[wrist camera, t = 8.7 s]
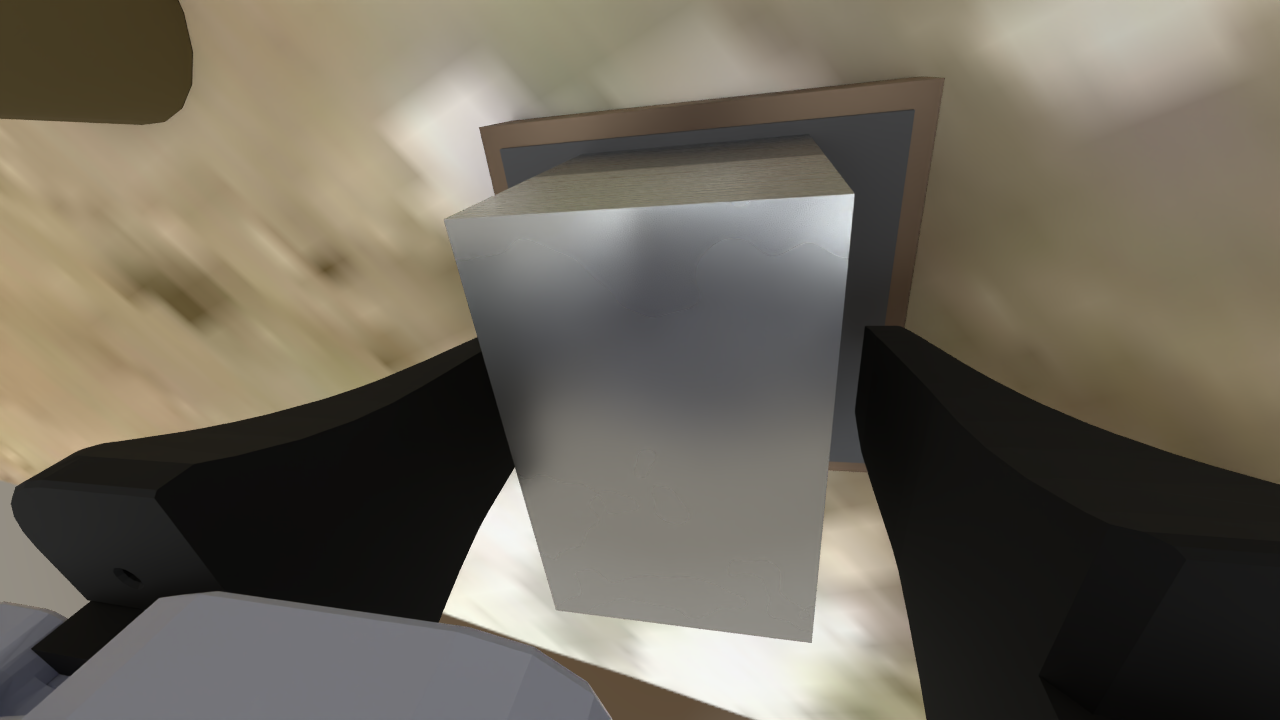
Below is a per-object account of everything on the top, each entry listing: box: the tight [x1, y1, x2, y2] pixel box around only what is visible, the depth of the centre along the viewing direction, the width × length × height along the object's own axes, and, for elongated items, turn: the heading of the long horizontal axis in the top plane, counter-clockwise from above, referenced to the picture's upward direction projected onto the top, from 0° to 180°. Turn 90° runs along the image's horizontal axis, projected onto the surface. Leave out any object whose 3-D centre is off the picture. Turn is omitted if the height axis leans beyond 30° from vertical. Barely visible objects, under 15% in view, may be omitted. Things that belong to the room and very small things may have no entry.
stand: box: [479, 77, 945, 472], centre depth 14 cm, size 10×10×2 cm
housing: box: [444, 134, 855, 643], centre depth 10 cm, size 5×8×6 cm, turn 7°
